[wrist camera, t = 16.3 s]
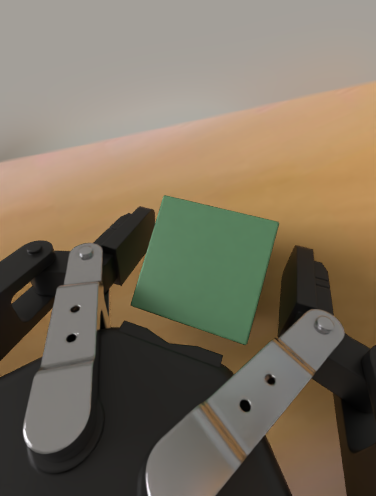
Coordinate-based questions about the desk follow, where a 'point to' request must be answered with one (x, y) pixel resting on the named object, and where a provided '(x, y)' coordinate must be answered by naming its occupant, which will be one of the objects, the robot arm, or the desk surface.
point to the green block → (206, 267)
